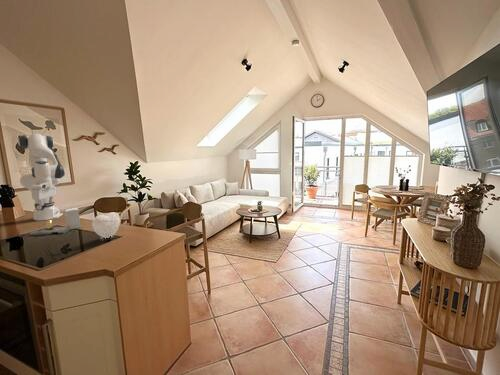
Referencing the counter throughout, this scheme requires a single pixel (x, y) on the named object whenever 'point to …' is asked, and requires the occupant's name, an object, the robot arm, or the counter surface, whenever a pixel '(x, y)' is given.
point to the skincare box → (72, 218)
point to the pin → (49, 224)
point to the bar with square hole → (50, 231)
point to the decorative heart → (106, 224)
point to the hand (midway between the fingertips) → (46, 204)
